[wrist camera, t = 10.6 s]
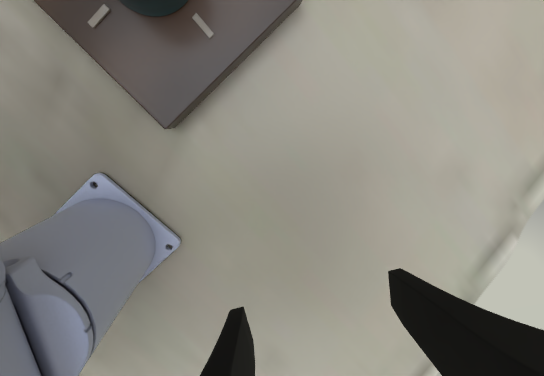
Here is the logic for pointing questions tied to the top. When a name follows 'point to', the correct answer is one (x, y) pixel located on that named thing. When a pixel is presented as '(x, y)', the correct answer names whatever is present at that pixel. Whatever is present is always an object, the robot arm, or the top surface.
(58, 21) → the stand
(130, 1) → the jar
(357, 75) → the top surface
